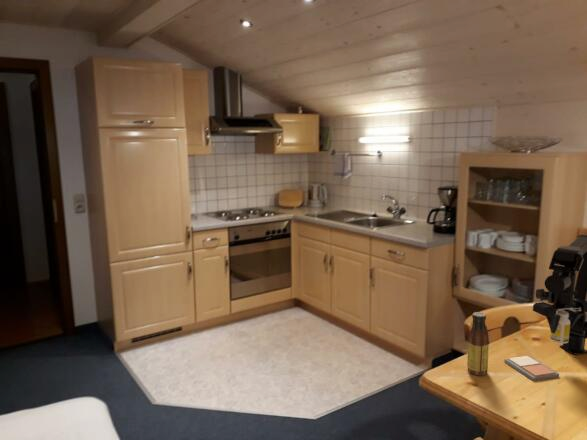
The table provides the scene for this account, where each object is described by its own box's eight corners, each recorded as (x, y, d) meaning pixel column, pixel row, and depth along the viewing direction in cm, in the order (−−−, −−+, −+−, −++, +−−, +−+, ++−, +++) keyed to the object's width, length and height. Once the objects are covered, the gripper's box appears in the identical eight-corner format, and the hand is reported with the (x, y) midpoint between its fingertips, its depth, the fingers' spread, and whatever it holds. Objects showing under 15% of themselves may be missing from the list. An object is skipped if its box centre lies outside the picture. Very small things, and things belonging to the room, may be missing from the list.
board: (528, 358, 162) (529, 354, 162) (559, 376, 149) (559, 372, 149) (504, 361, 159) (504, 358, 159) (532, 380, 147) (533, 376, 147)
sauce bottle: (484, 367, 155) (488, 310, 152) (489, 377, 149) (494, 318, 146) (463, 366, 156) (467, 310, 152) (468, 376, 150) (472, 317, 146)
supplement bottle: (566, 338, 157) (569, 310, 155) (570, 345, 152) (573, 316, 150) (548, 336, 159) (551, 308, 157) (551, 342, 154) (554, 314, 152)
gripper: (567, 277, 162) (563, 320, 165) (522, 281, 157) (518, 325, 160) (595, 287, 152) (590, 332, 154) (548, 291, 147) (543, 338, 149)
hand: (559, 331), depth 155 cm, fingers closed on supplement bottle, 5 cm apart
